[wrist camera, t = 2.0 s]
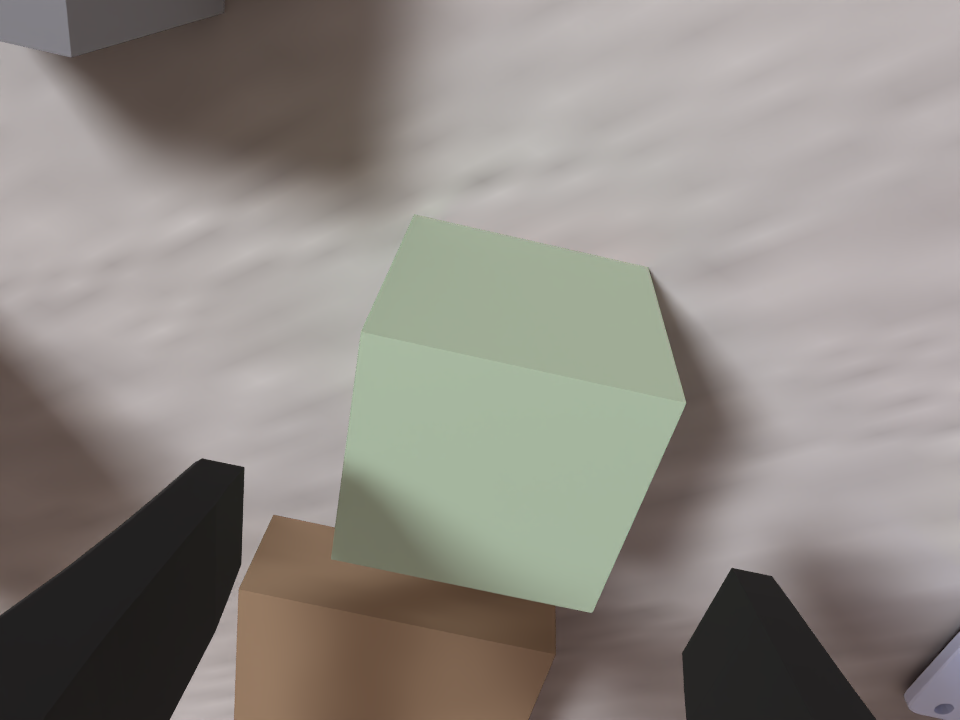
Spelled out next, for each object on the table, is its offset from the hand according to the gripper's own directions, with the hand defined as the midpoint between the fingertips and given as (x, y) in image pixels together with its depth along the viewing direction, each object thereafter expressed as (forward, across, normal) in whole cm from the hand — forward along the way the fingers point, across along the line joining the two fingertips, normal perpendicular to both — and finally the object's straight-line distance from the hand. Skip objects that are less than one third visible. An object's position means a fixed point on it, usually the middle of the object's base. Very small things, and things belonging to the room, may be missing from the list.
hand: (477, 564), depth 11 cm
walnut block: (+7, +1, +11) cm, 13 cm away
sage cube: (+7, 0, 0) cm, 7 cm away
